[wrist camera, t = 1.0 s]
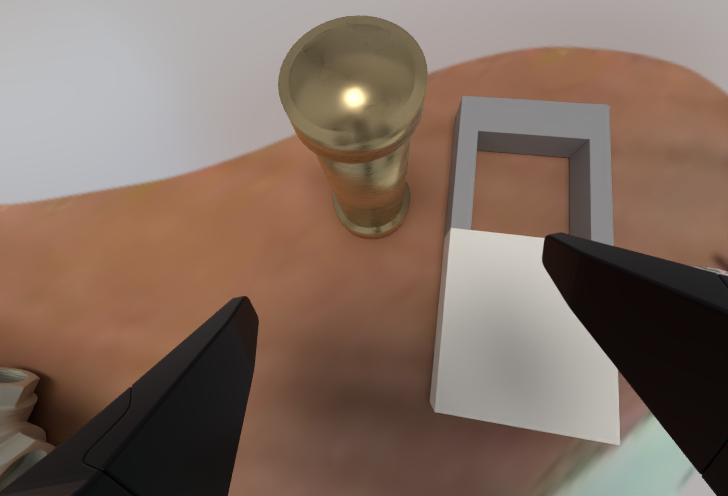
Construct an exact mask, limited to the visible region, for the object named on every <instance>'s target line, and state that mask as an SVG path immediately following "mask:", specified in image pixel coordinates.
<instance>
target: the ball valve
mask: <svg viewBox="0 0 728 496" xmlns="http://www.w3.org/2000/svg"><path fill="white" fill-rule="evenodd" d="M39 380H40V378H39V377H38V376H37V375H35V374H33V373H32V372H29V371H26V370H22V369H16V368H7V367H0V491H1V490H2V489H4V488H5V487H6V486H8V485H9V484H10V483H11V482H13V481H14V480H15V479H16V478H18V477H19V476H20V475H22V474H23V473H24V472H25V471H27V470H28V469H29V468H31V467H32V466H33V465H34V464H36V463H37V462H38V461H39V460H41V459H42V458H43V457H45V456H46V455H47V454H48V453H50V452H51V451H52V450H53V449H55V448H56V446H54V445H52V444H49V443H47V442H46V433H45V431H44V430H43V429H42V428H40V427H38V426H36V425H33V424H31V423H29V422H27V421H28V418H29V416H30V414H31V412H32V410H33V408H34V406H35V404H36V402H37V399H38V397H37V395H36V394H35V393H33V392H34V390H35V388H36V386H37V384H38V382H39Z"/></svg>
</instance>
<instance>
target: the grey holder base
mask: <svg viewBox="0 0 728 496" xmlns="http://www.w3.org/2000/svg"><path fill="white" fill-rule="evenodd" d="M477 150H479V151H491V152H503V153H516V154H528V155H540V156H552V157H564V158H570V235H573V236H577V237H581V238H585V239H588V240H592V241H596V242H600V243H604V244H608V245H611V246H614V240H613V209H612V178H611V148H610V117H609V105H602V104H586V103H570V102H554V101H538V100H522V99H506V98H490V97H474V96H462V99H461V102H460V105H459V108H458V112H457V115H456V119H455V130H454V141H453V152H452V163H451V174H450V185H449V196H448V207H447V218H446V228H445V239H444V250H443V261H442V272H441V283H440V294H439V305H438V316H437V327H436V338H435V349H434V360H433V371H432V382H431V393H430V403H431V405H432V408H433V410H434V412H437V413H443V414H448V415H454V416H459V417H465V418H470V419H476V420H482V421H487V422H493V423H498V424H504V425H509V426H515V427H520V428H526V429H532V430H537V431H543V432H548V433H554V434H559V435H565V436H570V437H576V438H582V439H587V440H593V441H598V442H604V443H609V444H615V445H620V424H619V393H618V369H617V368H616V367H615V365H614V364H613V363H612V361H611V360H610V359H609V358H608V356H607V355H606V354H605V353H604V351H603V350H602V349H601V347H600V346H599V345H598V344H597V342H596V341H595V340H594V339H593V337H592V336H591V335H590V334H589V332H588V331H587V330H586V328H585V327H584V326H583V325H582V323H581V322H580V321H579V320H578V318H577V317H576V316H575V314H574V313H573V312H572V310H571V309H570V308H569V306H568V305H567V303H566V302H565V300H564V299H563V297H562V295H561V294H560V292H559V290H558V289H557V287H556V286H555V284H554V282H553V281H552V279H551V278H550V276H549V274H548V273H547V271H546V269H545V268H544V266H543V263H542V253H543V245H544V239H545V238H538V237H529V236H520V235H511V234H502V233H493V232H484V231H475V230H471V222H472V208H473V195H474V181H475V167H476V153H477Z"/></svg>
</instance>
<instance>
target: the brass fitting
mask: <svg viewBox="0 0 728 496" xmlns="http://www.w3.org/2000/svg"><path fill="white" fill-rule="evenodd" d="M426 84H427V64H426V60H425V57H424V54H423V52H422V50H421V48H420V46H419V44H418V43H417V42H416V40H415V39H414V38H413V37H412V36H411V35H410V34H409V33H408V32H407V31H405V30H404V29H403V28H401V27H400V26H398V25H396V24H394V23H392V22H389V21H387V20H384V19H381V18H377V17H371V16H347V17H342V18H337V19H334V20H331V21H328V22H325V23H323V24H321V25H319V26H317V27H315V28H313V29H312V30H310V31H309V32H307V33H306V34H305V35H303V36H302V37H301V38H300V39H299V40H298V41H297V42H296V43H295V44H294V45H293V46H292V48H291V49H290V51H289V52H288V53H287V56H286V57H285V59H284V61H283V64H282V67H281V69H280V74H279V82H278V87H279V96H280V99H281V102H282V105H283V107H284V110H285V112H286V113H287V115H288V117H289V120H290V122H291V124H292V126H293V127H294V130H295V132H296V133H297V135H298V137H299V138H300V140H301V141H302V142H303V143H304V145H305V146H307V147H308V148H309V149H310V150H311V151H313V152H314V153H316V155H317V157H318V159H319V162H320V164H321V166H322V168H323V171H324V173H325V175H326V177H327V180H328V182H329V184H330V186H331V189H332V191H333V193H334V195H333V203H334V208H335V211H336V213H337V215H338V217H339V219H340V221H341V223H342V224H343V226H344V227H345V228H346V229H347V230H348V231H349V232H351V233H352V234H354V235H356V236H358V237H361V238H365V239H378V238H382V237H385V236H388V235H390V234H392V233H393V232H395V231H396V230H397V229H398V228H399V227H400V226H401V225H402V223H403V222H404V220H405V218H406V216H407V213H408V208H409V201H410V192H409V187H408V184H407V182H406V174H407V164H408V154H409V144H410V136H411V135H412V134H413V133H414V131H415V129H416V128H417V126H418V123H419V121H420V119H421V115H422V111H423V105H424V98H425V91H426Z"/></svg>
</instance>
